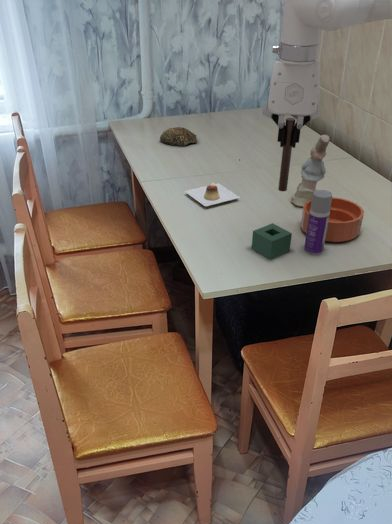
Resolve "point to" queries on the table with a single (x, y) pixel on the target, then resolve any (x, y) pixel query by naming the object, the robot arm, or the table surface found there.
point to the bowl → (338, 220)
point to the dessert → (212, 194)
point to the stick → (286, 154)
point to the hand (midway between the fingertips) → (287, 144)
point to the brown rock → (178, 136)
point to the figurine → (311, 172)
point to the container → (318, 222)
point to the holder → (271, 241)
